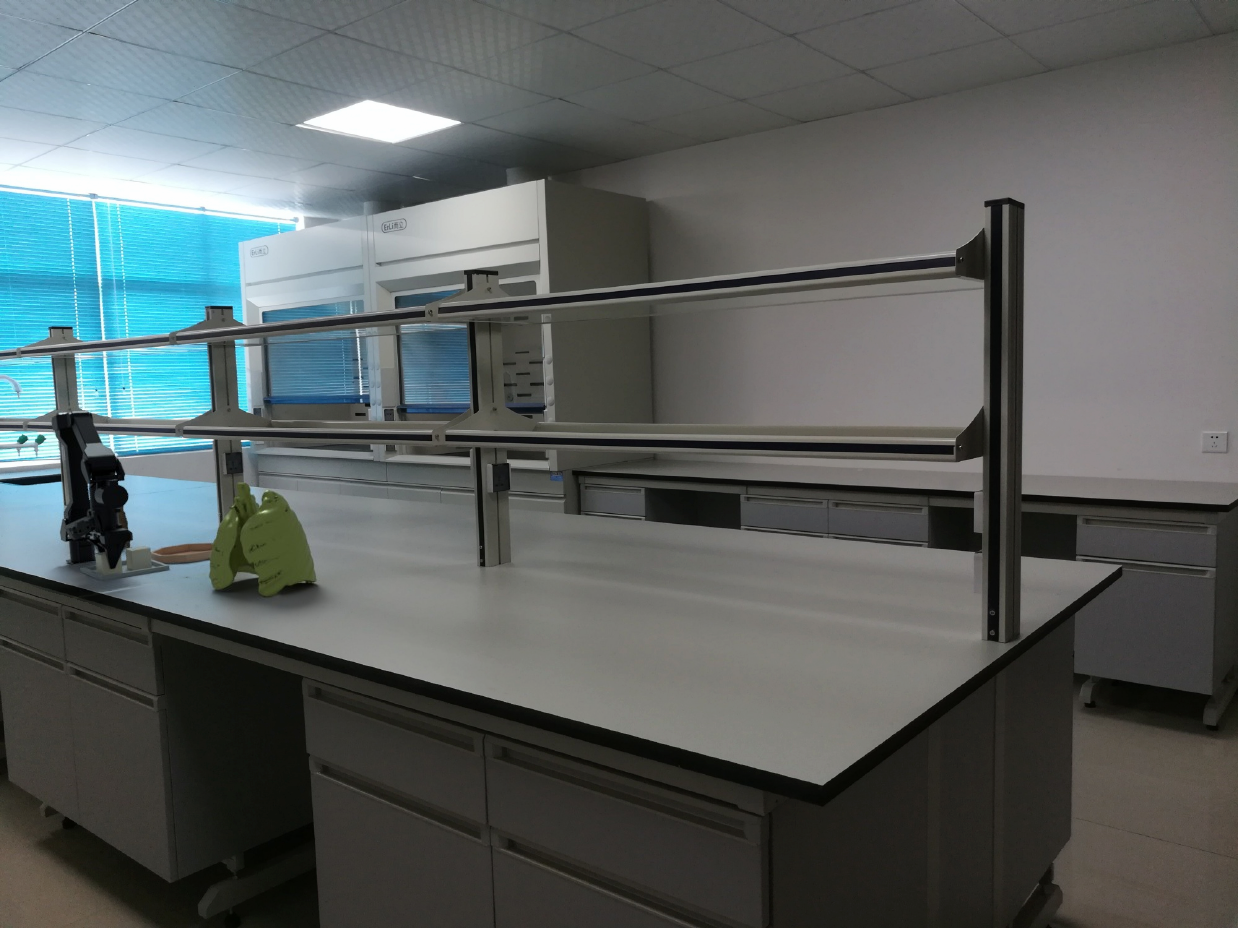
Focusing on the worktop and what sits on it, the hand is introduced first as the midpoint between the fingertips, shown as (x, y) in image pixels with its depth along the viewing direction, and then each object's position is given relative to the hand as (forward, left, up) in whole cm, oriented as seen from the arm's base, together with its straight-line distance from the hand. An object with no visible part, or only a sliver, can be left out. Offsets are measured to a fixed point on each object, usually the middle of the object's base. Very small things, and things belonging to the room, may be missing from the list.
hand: (109, 567), depth 220 cm
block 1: (0, 0, -1) cm, 1 cm away
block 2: (0, +7, -1) cm, 7 cm away
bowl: (-5, +20, -2) cm, 21 cm away
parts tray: (0, +3, -2) cm, 4 cm away
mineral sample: (-45, +14, -2) cm, 47 cm away
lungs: (+44, +18, -2) cm, 48 cm away
